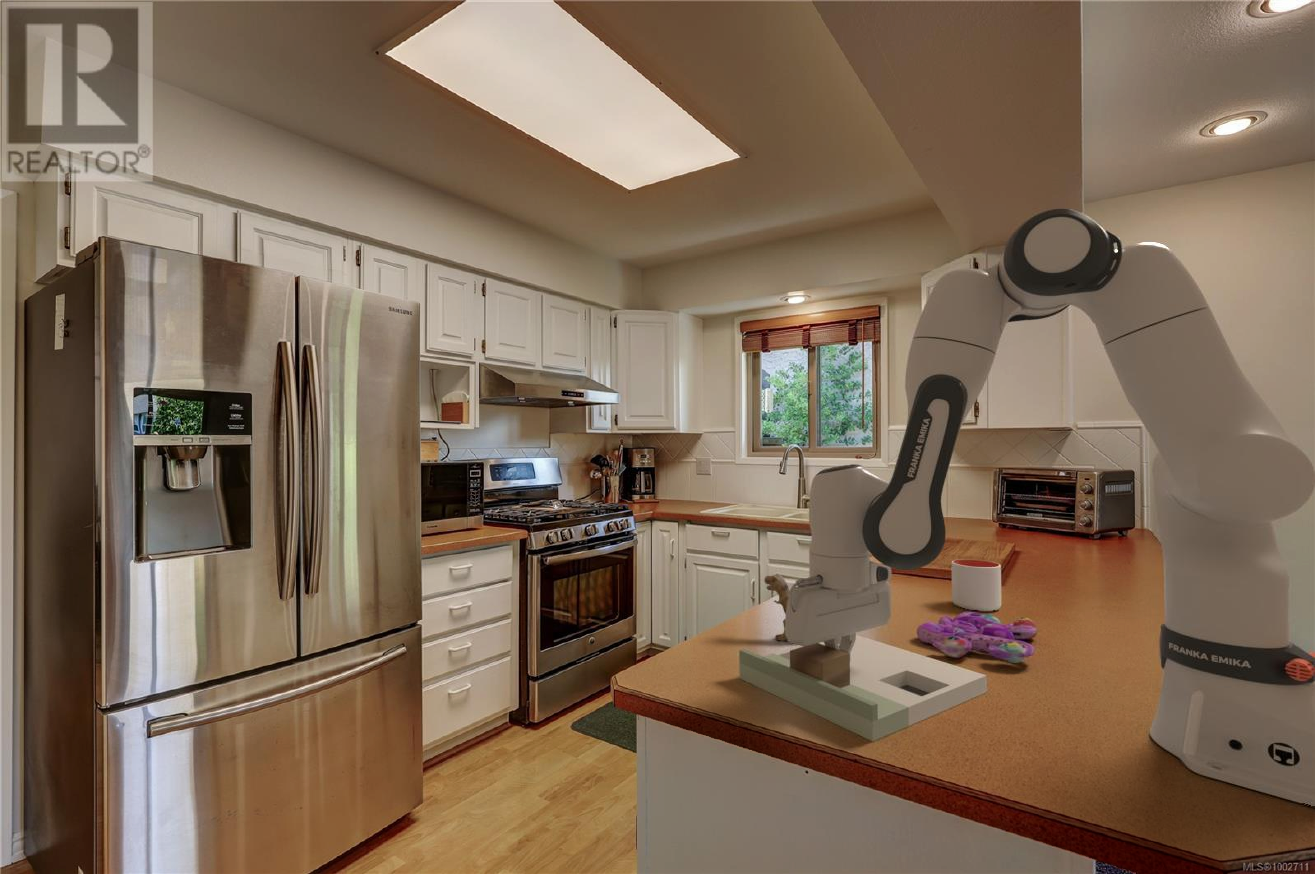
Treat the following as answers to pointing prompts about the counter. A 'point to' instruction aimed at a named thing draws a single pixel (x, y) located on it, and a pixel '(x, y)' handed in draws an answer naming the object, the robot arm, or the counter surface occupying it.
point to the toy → (783, 590)
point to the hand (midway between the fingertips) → (839, 663)
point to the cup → (976, 584)
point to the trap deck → (868, 687)
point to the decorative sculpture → (980, 636)
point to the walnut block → (822, 664)
